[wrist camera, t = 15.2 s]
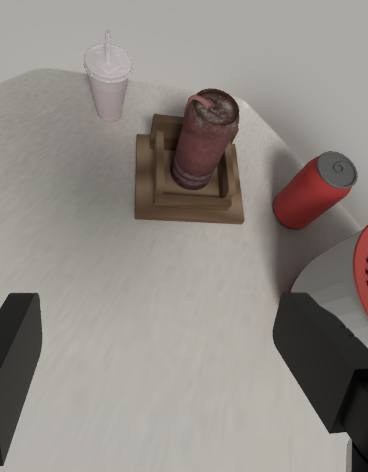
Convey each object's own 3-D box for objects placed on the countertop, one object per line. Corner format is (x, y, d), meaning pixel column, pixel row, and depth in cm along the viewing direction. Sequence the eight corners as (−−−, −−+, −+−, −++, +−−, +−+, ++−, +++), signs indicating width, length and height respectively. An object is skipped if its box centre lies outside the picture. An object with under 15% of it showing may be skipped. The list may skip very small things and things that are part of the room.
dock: (241, 224, 48) (261, 201, 42) (135, 219, 45) (138, 193, 39) (232, 148, 54) (248, 118, 47) (136, 139, 50) (140, 105, 44)
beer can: (316, 213, 52) (370, 172, 41) (295, 238, 49) (346, 201, 38) (286, 186, 53) (330, 139, 42) (263, 209, 50) (304, 165, 39)
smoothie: (87, 126, 49) (78, 43, 37) (89, 95, 52) (81, 7, 39) (129, 130, 51) (134, 50, 38) (129, 99, 53) (134, 15, 41)
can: (172, 153, 49) (192, 78, 37) (211, 164, 50) (244, 94, 37) (164, 185, 47) (183, 117, 34) (206, 196, 47) (239, 133, 35)
